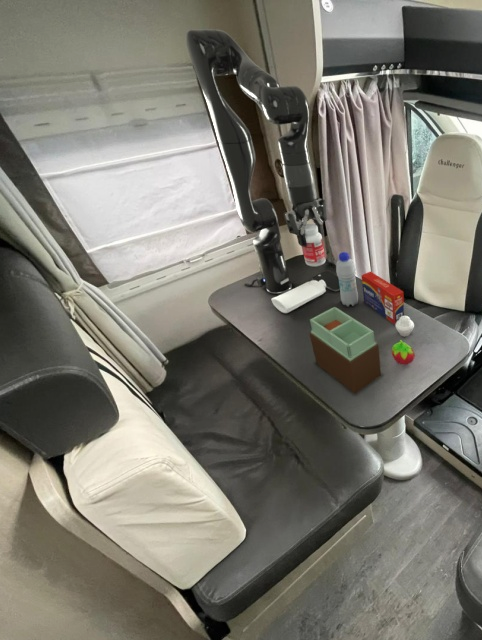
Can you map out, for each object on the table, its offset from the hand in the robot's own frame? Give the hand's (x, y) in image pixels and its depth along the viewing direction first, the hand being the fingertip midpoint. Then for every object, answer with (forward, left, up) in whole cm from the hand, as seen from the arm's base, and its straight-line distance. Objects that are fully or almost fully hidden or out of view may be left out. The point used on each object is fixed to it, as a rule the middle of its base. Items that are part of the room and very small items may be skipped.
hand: (311, 241), depth 106 cm
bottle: (-1, +13, -29) cm, 32 cm away
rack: (+22, -14, -29) cm, 39 cm away
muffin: (+26, +9, -29) cm, 41 cm away
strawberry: (+34, -4, -29) cm, 45 cm away
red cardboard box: (+13, +16, -29) cm, 36 cm away
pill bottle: (0, 0, -7) cm, 7 cm away
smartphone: (-17, +20, -29) cm, 39 cm away
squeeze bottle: (-17, +5, -29) cm, 34 cm away
